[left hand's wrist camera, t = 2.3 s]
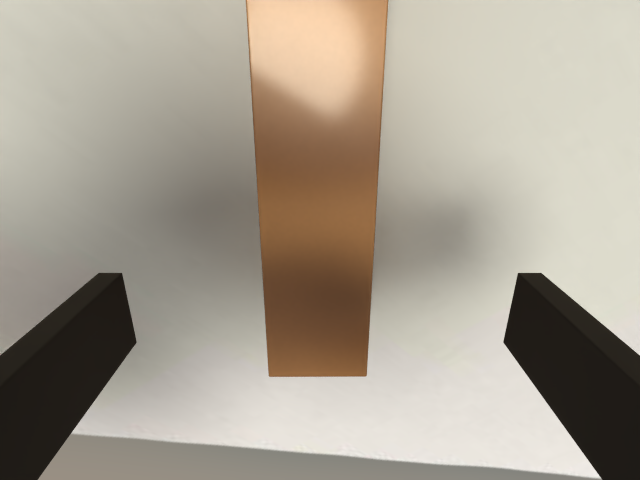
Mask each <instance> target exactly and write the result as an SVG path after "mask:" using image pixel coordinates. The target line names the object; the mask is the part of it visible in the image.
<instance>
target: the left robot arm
mask: <svg viewBox="0 0 640 480" xmlns="http://www.w3.org/2000/svg"><path fill="white" fill-rule="evenodd" d="M135 344H136V337H135V332H134V328H133V323H132V318H131V314H130V309H129V304H128V299H127V295H126V290H125V285H124V280H123V276H122V273H98V274H97V275H96V276H95V277H94V278H92V279H91V280H90V281H89V282H88V283H86V284H85V285H84V286H83V287H82V288H80V289H79V290H78V291H77V292H76V293H74V294H73V295H72V296H71V297H70V298H68V299H67V300H66V301H65V302H64V303H62V304H61V305H60V306H59V307H58V308H57V309H55V310H54V311H53V312H52V313H51V314H49V315H48V316H47V317H46V318H45V319H43V320H42V321H41V322H40V323H39V324H37V325H36V326H35V327H34V328H33V329H31V330H30V331H29V332H28V333H27V334H25V335H24V336H23V337H22V338H21V339H20V340H18V341H17V342H16V343H15V344H14V345H12V346H11V347H10V348H9V349H8V350H6V351H5V352H4V353H3V354H2V355H0V480H38V478H39V477H40V475H41V474H42V473H43V471H44V470H45V469H46V467H47V466H48V464H49V463H50V462H51V460H52V459H53V458H54V456H55V455H56V453H57V452H58V451H59V449H60V448H61V446H62V445H63V444H64V442H65V441H66V439H67V438H68V437H69V435H70V434H71V433H72V431H73V430H74V428H75V427H76V426H77V424H78V423H79V421H80V420H81V419H82V417H83V416H84V414H85V413H86V412H87V410H88V409H89V408H90V406H91V405H92V403H93V402H94V401H95V399H96V398H97V396H98V395H99V394H100V392H101V391H102V390H103V388H104V387H105V385H106V384H107V383H108V381H109V380H110V378H111V377H112V376H113V374H114V373H115V371H116V370H117V369H118V367H119V366H120V365H121V363H122V362H123V360H124V359H125V358H126V356H127V355H128V353H129V352H130V351H131V349H132V348H133V347H134V345H135ZM504 344H505V345H506V347H507V348H508V349H509V351H510V352H511V353H512V355H513V356H514V358H515V359H516V360H517V362H518V363H519V365H520V366H521V367H522V369H523V370H524V371H525V373H526V374H527V376H528V377H529V378H530V380H531V381H532V383H533V384H534V385H535V387H536V388H537V390H538V391H539V392H540V394H541V395H542V396H543V398H544V399H545V401H546V402H547V403H548V405H549V406H550V408H551V409H552V410H553V412H554V413H555V414H556V416H557V417H558V419H559V420H560V421H561V423H562V424H563V426H564V427H565V428H566V430H567V431H568V433H569V434H570V435H571V437H572V438H573V439H574V441H575V442H576V444H577V445H578V446H579V448H580V449H581V451H582V452H583V453H584V455H585V456H586V458H587V459H588V460H589V462H590V463H591V464H592V466H593V467H594V469H595V470H596V471H597V473H598V474H599V476H600V477H601V478H602V480H640V355H638V354H637V353H636V352H635V351H634V350H632V349H631V348H630V347H629V346H628V345H626V344H625V343H624V342H623V341H622V340H620V339H619V338H618V337H617V336H616V335H615V334H613V333H612V332H611V331H610V330H609V329H607V328H606V327H605V326H604V325H603V324H601V323H600V322H599V321H598V320H597V319H595V318H594V317H593V316H592V315H591V314H589V313H588V312H587V311H586V310H585V309H583V308H582V307H581V306H580V305H579V304H578V303H576V302H575V301H574V300H573V299H572V298H570V297H569V296H568V295H567V294H566V293H564V292H563V291H562V290H561V289H560V288H558V287H557V286H556V285H555V284H554V283H552V282H551V281H550V280H549V279H548V278H546V277H545V276H544V275H543V274H542V273H518V276H517V280H516V285H515V290H514V295H513V299H512V304H511V309H510V314H509V318H508V323H507V328H506V332H505V337H504Z"/></svg>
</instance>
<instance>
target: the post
mask: <svg viewBox="0 0 640 480" xmlns="http://www.w3.org/2000/svg"><path fill="white" fill-rule="evenodd" d="M246 10H247V26H248V42H249V59H250V75H251V92H252V108H253V125H254V141H255V157H256V174H257V190H258V207H259V223H260V240H261V256H262V272H263V289H264V305H265V322H266V338H267V354H268V371H269V377H321V376H367V360H368V343H369V326H370V308H371V291H372V273H373V256H374V238H375V221H376V203H377V186H378V168H379V151H380V134H381V116H382V99H383V81H384V64H385V46H386V29H387V11H388V0H246Z"/></svg>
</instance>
